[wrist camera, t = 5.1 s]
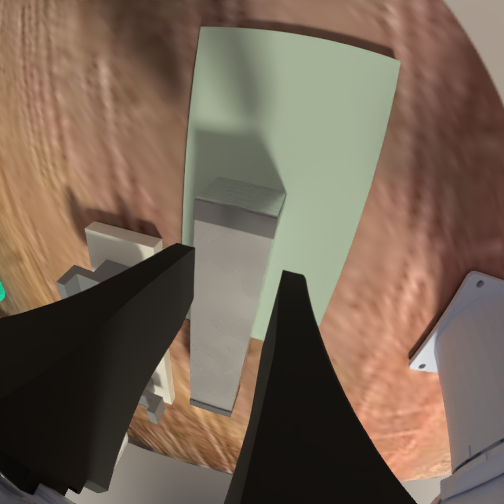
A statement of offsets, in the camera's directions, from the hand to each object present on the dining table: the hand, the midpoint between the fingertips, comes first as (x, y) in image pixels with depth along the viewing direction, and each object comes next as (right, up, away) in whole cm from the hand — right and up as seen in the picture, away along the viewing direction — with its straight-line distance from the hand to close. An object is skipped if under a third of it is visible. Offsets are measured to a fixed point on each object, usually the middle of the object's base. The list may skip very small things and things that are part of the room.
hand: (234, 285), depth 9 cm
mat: (+1, +3, +5) cm, 6 cm away
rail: (-1, -3, +8) cm, 8 cm away
